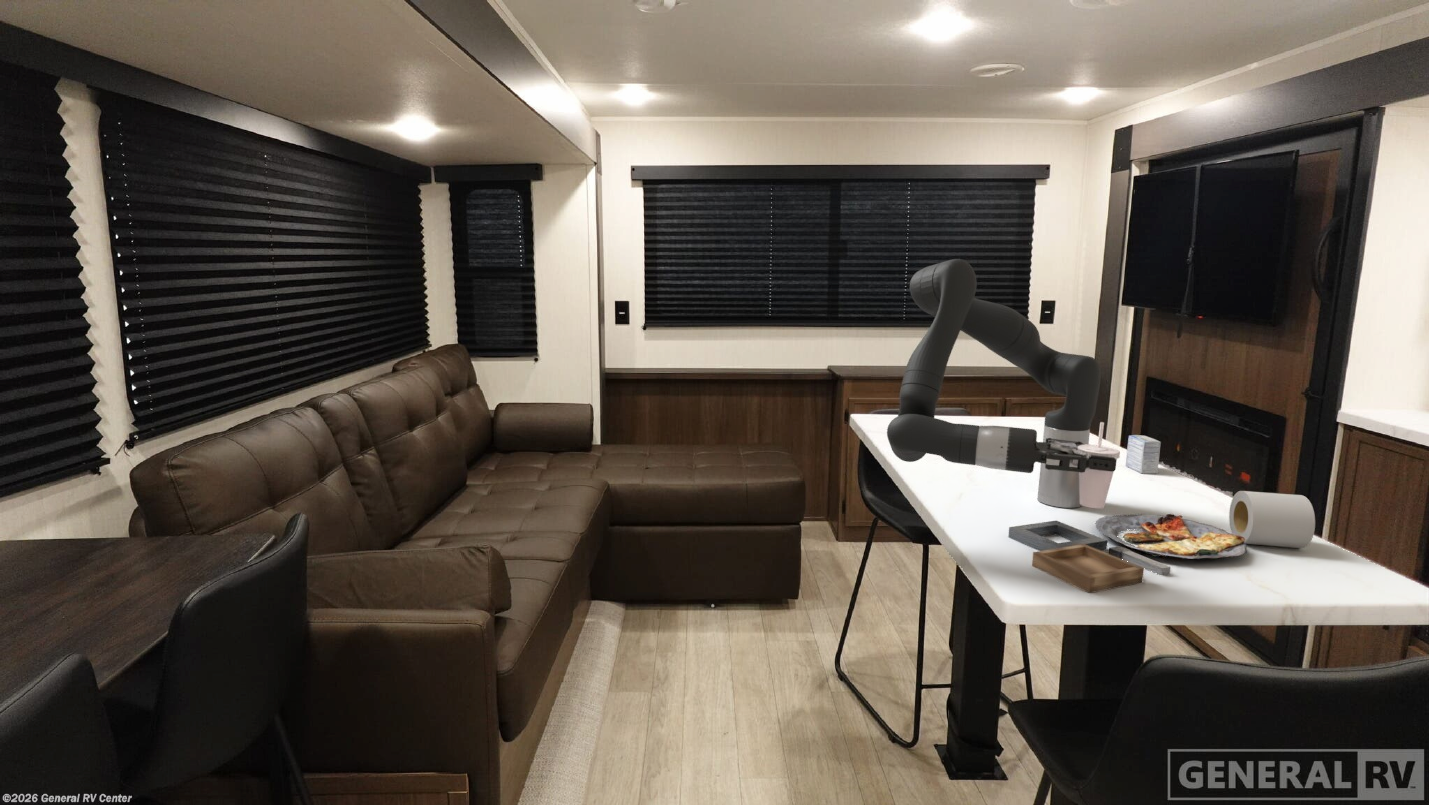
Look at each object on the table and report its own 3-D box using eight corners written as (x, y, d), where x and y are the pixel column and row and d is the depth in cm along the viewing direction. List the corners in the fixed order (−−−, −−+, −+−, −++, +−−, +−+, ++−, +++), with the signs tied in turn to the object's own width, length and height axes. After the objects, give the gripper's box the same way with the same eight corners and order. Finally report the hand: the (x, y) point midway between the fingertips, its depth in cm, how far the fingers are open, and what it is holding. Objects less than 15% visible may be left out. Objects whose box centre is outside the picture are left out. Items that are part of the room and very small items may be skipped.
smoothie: (1115, 503, 128) (1125, 422, 126) (1111, 513, 123) (1121, 429, 121) (1073, 496, 132) (1083, 417, 129) (1068, 505, 127) (1077, 423, 124)
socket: (1055, 530, 152) (1056, 520, 151) (1106, 550, 141) (1107, 540, 140) (1008, 537, 147) (1009, 527, 147) (1057, 558, 136) (1058, 548, 136)
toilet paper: (1283, 538, 150) (1291, 489, 148) (1310, 556, 140) (1318, 504, 138) (1226, 533, 152) (1233, 484, 150) (1248, 550, 142) (1256, 499, 141)
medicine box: (1157, 474, 197) (1161, 441, 195) (1140, 474, 197) (1144, 441, 195) (1141, 466, 204) (1145, 435, 203) (1124, 466, 205) (1128, 434, 203)
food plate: (1179, 520, 159) (1180, 504, 158) (1278, 563, 136) (1280, 544, 136) (1070, 528, 155) (1072, 511, 154) (1154, 574, 132) (1156, 555, 132)
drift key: (1108, 555, 139) (1109, 547, 139) (1119, 553, 140) (1120, 546, 140) (1159, 576, 129) (1160, 568, 129) (1171, 575, 130) (1172, 566, 130)
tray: (1082, 557, 137) (1084, 544, 137) (1142, 582, 126) (1143, 568, 126) (1031, 566, 133) (1033, 552, 132) (1088, 592, 122) (1090, 578, 121)
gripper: (1006, 435, 124) (1121, 446, 118) (1008, 420, 137) (1112, 429, 131) (1001, 479, 126) (1115, 493, 119) (1005, 460, 139) (1107, 471, 132)
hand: (1113, 460), depth 125 cm, fingers closed on smoothie, 6 cm apart
